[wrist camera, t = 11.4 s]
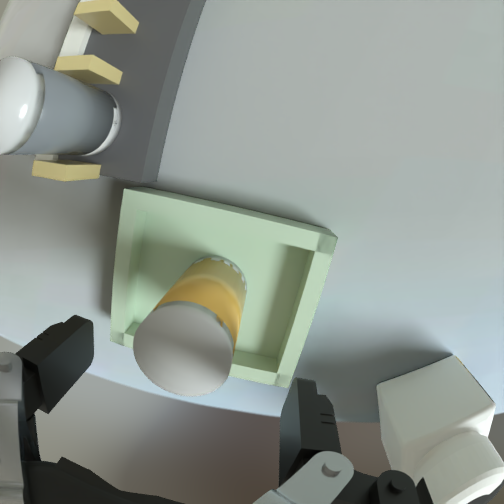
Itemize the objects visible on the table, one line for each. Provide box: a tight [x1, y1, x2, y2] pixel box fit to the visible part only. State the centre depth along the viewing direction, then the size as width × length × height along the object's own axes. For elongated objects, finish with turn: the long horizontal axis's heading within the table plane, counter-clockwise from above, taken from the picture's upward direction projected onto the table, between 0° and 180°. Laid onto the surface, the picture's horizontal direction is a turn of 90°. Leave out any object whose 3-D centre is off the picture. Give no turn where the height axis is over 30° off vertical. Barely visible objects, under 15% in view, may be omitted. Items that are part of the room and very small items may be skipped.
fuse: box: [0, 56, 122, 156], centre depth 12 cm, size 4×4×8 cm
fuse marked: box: [133, 256, 247, 396], centre depth 16 cm, size 4×4×8 cm
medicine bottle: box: [377, 355, 504, 504], centre depth 16 cm, size 7×7×12 cm
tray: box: [110, 186, 338, 388], centre depth 19 cm, size 12×10×2 cm
